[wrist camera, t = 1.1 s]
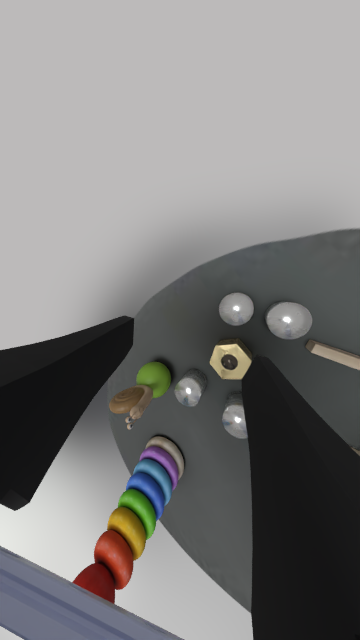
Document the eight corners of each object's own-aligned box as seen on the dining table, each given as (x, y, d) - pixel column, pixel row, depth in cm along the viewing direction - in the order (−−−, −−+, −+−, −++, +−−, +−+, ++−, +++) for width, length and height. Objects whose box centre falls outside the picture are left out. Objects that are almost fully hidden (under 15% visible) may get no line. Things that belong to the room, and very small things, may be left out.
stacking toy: (155, 468, 31) (43, 667, 15) (145, 431, 31) (19, 590, 14) (190, 478, 28) (96, 754, 11) (179, 436, 28) (66, 655, 11)
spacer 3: (247, 420, 22) (246, 444, 18) (223, 406, 23) (218, 426, 20) (257, 400, 21) (259, 422, 17) (232, 387, 22) (228, 404, 19)
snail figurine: (184, 386, 26) (136, 451, 15) (154, 386, 28) (94, 441, 18) (177, 355, 25) (122, 398, 15) (147, 358, 28) (82, 396, 17)
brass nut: (241, 376, 22) (239, 388, 19) (211, 362, 23) (206, 371, 20) (255, 344, 20) (256, 352, 17) (223, 331, 22) (219, 336, 19)
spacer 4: (291, 335, 18) (300, 345, 15) (259, 324, 20) (261, 331, 16) (305, 307, 17) (320, 309, 14) (271, 297, 19) (276, 297, 15)
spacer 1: (202, 394, 24) (194, 411, 21) (183, 383, 26) (172, 397, 22) (210, 375, 23) (202, 390, 20) (189, 365, 25) (178, 376, 21)
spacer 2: (247, 324, 20) (245, 330, 17) (220, 315, 22) (214, 318, 18) (258, 298, 19) (259, 298, 16) (229, 289, 21) (225, 288, 17)
